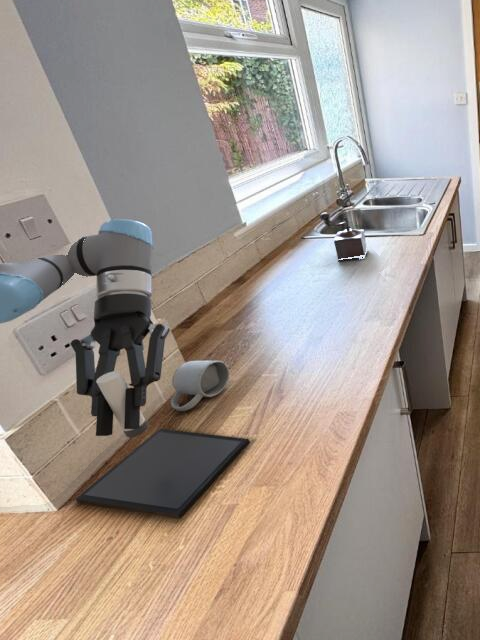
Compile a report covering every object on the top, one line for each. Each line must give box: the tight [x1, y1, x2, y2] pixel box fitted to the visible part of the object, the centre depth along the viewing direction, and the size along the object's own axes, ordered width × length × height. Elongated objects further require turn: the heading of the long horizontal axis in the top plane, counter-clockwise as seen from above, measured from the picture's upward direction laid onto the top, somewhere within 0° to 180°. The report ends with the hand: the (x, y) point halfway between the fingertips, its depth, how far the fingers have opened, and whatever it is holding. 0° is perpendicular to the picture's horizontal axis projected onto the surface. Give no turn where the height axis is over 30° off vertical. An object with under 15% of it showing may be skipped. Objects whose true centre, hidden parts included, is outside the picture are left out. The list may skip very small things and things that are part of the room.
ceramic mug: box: [170, 360, 230, 412], centre depth 89 cm, size 11×8×8 cm
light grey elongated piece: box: [96, 370, 149, 438], centre depth 69 cm, size 3×3×12 cm
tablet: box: [75, 428, 250, 520], centre depth 73 cm, size 20×15×1 cm
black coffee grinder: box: [319, 212, 368, 263], centre depth 159 cm, size 16×11×18 cm
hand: (118, 431), depth 67 cm, fingers closed on light grey elongated piece, 3 cm apart
